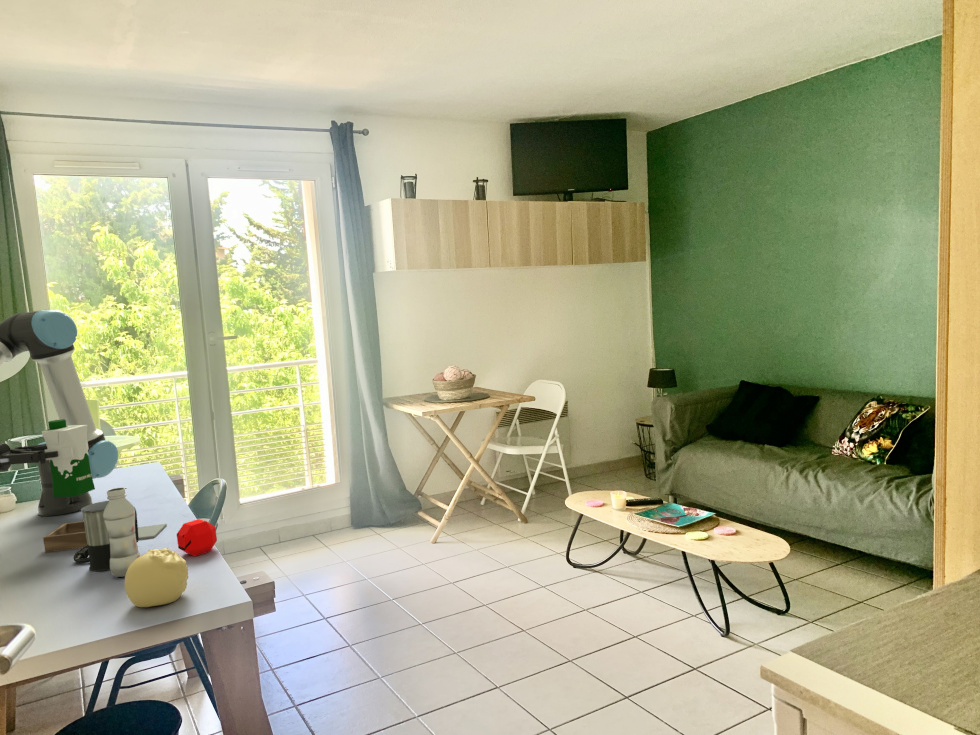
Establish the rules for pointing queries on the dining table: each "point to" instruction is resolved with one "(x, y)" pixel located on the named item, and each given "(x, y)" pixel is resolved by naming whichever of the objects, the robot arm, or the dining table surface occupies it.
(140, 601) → the pale yellow rounded lump
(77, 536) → the holder
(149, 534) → the mat
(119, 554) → the plastic bottle
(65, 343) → the robot arm
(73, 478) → the soya milk
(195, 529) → the ball
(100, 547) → the milk frother
